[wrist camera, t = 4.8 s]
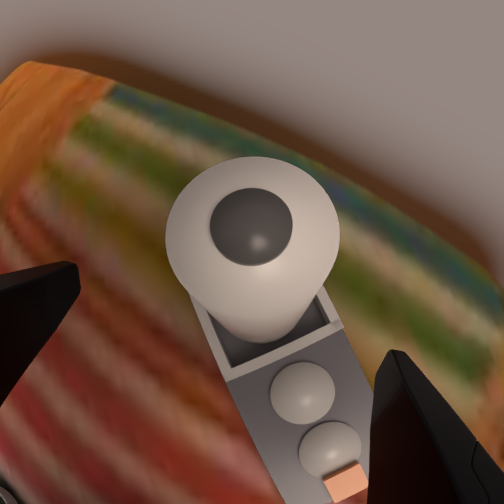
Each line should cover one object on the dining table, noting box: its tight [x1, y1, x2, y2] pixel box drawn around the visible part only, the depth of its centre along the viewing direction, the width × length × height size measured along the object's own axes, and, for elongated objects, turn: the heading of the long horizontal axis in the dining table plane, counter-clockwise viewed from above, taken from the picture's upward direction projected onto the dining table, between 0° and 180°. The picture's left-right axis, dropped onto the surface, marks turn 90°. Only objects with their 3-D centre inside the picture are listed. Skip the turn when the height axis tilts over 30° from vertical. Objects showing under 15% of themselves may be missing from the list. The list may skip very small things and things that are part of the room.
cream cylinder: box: [165, 157, 340, 345], centre depth 12 cm, size 4×4×9 cm
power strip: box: [188, 284, 374, 504], centre depth 15 cm, size 15×6×2 cm, turn 24°
